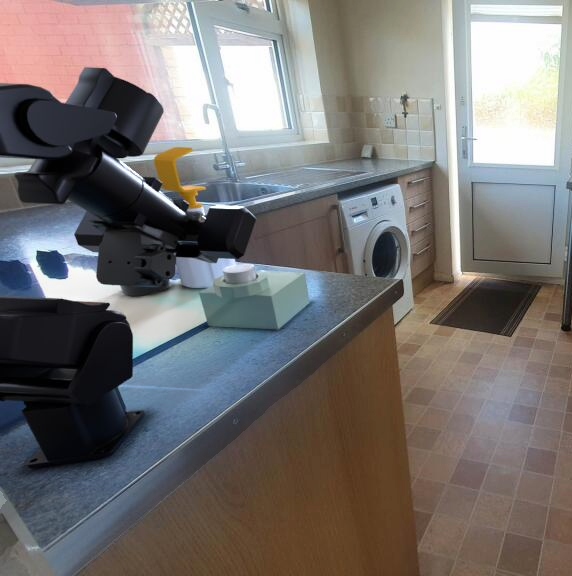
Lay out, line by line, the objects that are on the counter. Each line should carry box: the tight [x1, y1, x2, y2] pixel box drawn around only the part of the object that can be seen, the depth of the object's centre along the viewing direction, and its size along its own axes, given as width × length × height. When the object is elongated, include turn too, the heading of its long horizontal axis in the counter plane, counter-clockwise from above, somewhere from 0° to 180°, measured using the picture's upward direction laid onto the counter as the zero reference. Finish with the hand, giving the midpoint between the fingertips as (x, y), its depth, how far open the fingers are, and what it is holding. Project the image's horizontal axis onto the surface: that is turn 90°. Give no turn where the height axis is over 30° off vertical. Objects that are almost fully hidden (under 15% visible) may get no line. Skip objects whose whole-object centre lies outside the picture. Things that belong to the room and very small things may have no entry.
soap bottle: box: [153, 146, 237, 289], centre depth 75 cm, size 9×9×25 cm
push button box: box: [198, 269, 311, 330], centre depth 65 cm, size 11×11×8 cm
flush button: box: [223, 263, 257, 284], centre depth 62 cm, size 4×4×2 cm
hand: (215, 260), depth 57 cm, fingers closed
